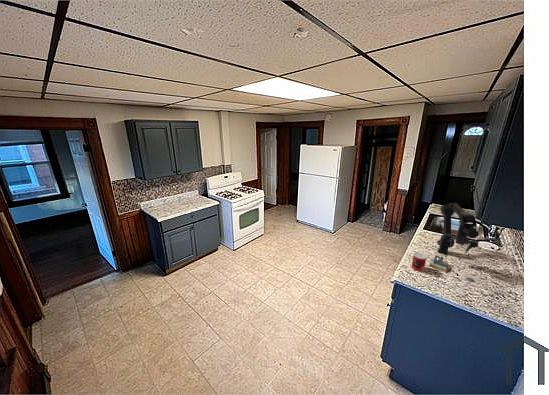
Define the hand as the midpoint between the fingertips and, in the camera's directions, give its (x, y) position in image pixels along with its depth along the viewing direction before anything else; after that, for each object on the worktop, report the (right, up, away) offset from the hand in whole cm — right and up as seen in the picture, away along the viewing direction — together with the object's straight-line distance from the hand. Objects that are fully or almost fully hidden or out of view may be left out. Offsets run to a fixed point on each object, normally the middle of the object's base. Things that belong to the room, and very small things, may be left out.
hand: (457, 250), depth 159 cm
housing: (-13, -10, +2) cm, 16 cm away
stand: (-12, -12, +2) cm, 18 cm away
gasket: (-2, -17, -12) cm, 21 cm away
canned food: (-29, -13, 0) cm, 32 cm away
